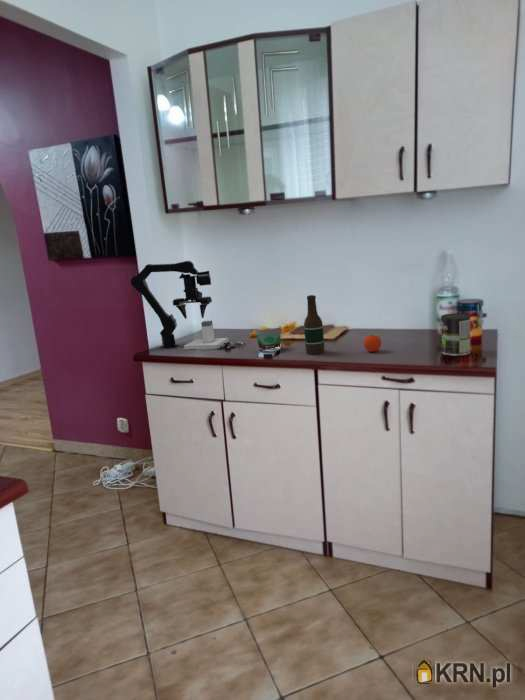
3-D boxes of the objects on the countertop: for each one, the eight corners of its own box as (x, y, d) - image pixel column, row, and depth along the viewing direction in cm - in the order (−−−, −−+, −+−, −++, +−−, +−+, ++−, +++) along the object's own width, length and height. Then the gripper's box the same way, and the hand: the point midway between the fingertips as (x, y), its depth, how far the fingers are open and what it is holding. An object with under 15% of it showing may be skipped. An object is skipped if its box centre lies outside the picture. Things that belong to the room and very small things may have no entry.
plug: (204, 346, 253) (201, 322, 250) (207, 344, 257) (204, 320, 254) (211, 346, 252) (208, 322, 249) (214, 344, 255) (212, 320, 253)
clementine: (376, 348, 216) (375, 331, 215) (387, 350, 210) (386, 333, 209) (360, 352, 213) (359, 334, 211) (371, 354, 207) (370, 337, 205)
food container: (260, 354, 226) (257, 331, 224) (256, 351, 232) (254, 329, 230) (287, 350, 229) (285, 327, 227) (282, 347, 235) (280, 325, 233)
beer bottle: (305, 351, 223) (301, 295, 218) (323, 349, 223) (319, 293, 217) (306, 355, 215) (301, 297, 210) (325, 353, 215) (321, 295, 210)
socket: (184, 349, 250) (183, 345, 250) (197, 342, 264) (196, 338, 264) (217, 348, 245) (216, 344, 245) (228, 341, 259) (228, 337, 259)
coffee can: (445, 356, 193) (444, 319, 190) (439, 350, 203) (438, 314, 200) (474, 354, 192) (473, 316, 189) (466, 348, 202) (466, 312, 199)
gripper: (214, 283, 260) (217, 314, 263) (180, 286, 266) (184, 316, 269) (205, 286, 249) (209, 318, 253) (170, 288, 255) (174, 320, 259)
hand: (194, 318), depth 259 cm, fingers open, 9 cm apart
